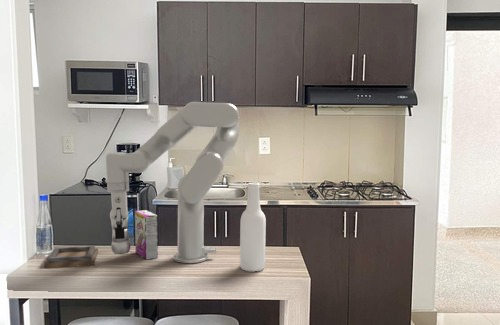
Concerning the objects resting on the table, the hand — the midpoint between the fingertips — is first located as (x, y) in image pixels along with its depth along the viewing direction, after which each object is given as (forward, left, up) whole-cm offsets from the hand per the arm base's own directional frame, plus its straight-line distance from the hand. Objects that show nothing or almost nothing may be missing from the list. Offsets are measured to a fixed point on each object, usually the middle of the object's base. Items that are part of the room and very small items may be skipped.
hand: (120, 236), depth 166 cm
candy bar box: (-9, -5, -9) cm, 14 cm away
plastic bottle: (0, 0, -7) cm, 7 cm away
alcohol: (-45, +17, -9) cm, 49 cm away
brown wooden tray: (+17, -4, -9) cm, 20 cm away
